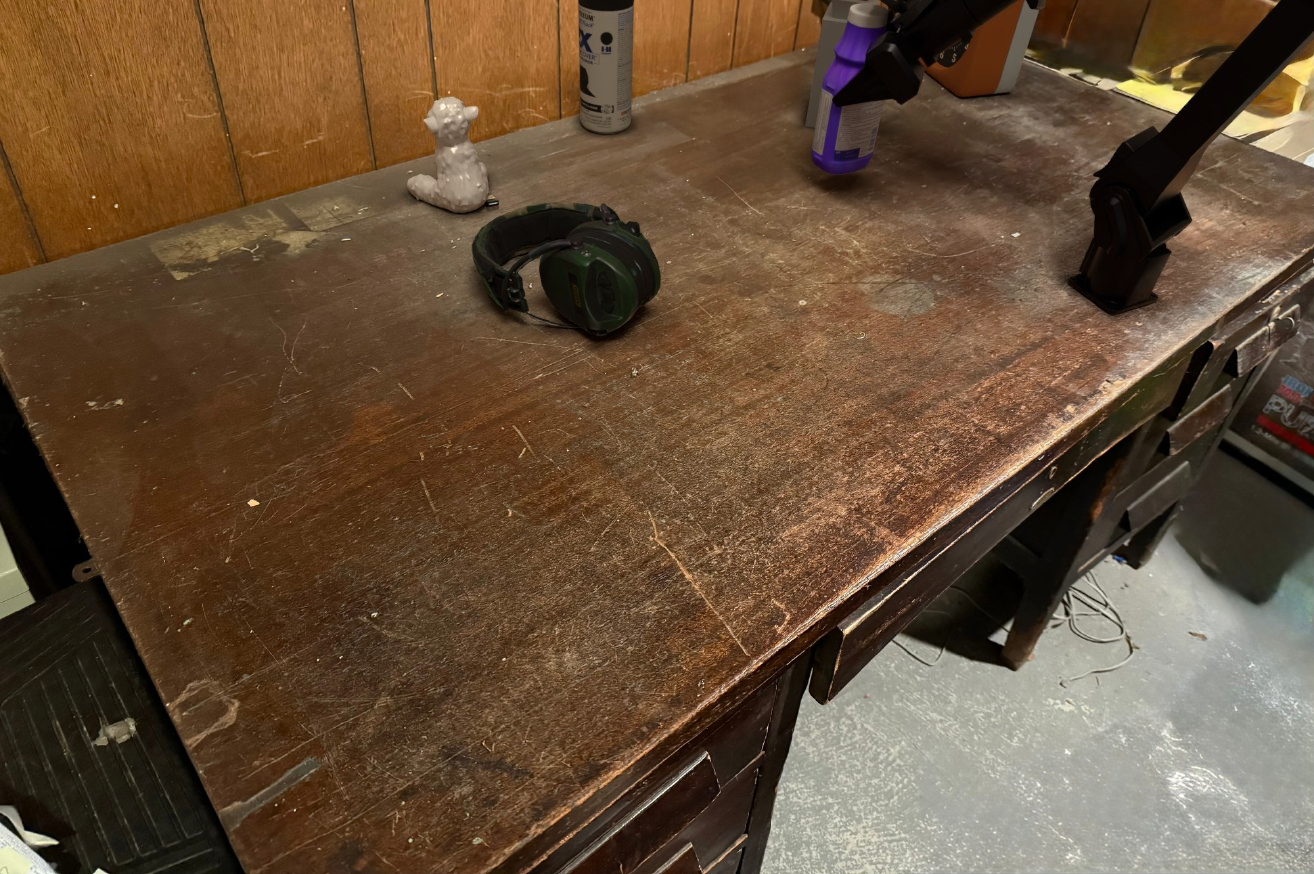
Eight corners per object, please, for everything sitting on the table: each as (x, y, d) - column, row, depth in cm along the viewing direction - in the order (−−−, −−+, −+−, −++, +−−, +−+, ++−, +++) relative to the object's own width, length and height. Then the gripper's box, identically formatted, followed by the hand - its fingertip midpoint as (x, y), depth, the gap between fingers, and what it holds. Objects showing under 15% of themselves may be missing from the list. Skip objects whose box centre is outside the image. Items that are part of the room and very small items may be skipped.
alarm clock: (897, 52, 137) (930, -99, 123) (946, 48, 139) (985, -101, 125) (960, 101, 125) (1006, -60, 110) (1014, 96, 127) (1065, -64, 113)
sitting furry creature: (483, 173, 105) (472, 71, 96) (516, 206, 100) (507, 101, 91) (407, 192, 101) (388, 88, 92) (436, 227, 96) (420, 120, 87)
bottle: (848, 149, 107) (877, -5, 95) (879, 169, 104) (913, 12, 92) (800, 162, 104) (823, 5, 92) (830, 182, 101) (859, 23, 89)
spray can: (572, 117, 117) (567, -51, 103) (620, 109, 119) (621, -56, 105) (591, 138, 112) (589, -33, 98) (640, 130, 114) (644, -39, 101)
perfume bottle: (805, 126, 117) (828, -20, 105) (813, 106, 122) (837, -37, 109) (856, 134, 116) (885, -13, 103) (862, 114, 121) (892, -30, 108)
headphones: (703, 231, 86) (541, 201, 95) (642, 178, 74) (463, 149, 83) (663, 363, 86) (504, 320, 95) (595, 331, 74) (421, 285, 83)
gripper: (937, -95, 92) (817, 3, 102) (911, -47, 79) (776, 59, 89) (993, -3, 96) (871, 82, 106) (976, 57, 83) (839, 147, 93)
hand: (841, 90), depth 98 cm, fingers closed on bottle, 7 cm apart
